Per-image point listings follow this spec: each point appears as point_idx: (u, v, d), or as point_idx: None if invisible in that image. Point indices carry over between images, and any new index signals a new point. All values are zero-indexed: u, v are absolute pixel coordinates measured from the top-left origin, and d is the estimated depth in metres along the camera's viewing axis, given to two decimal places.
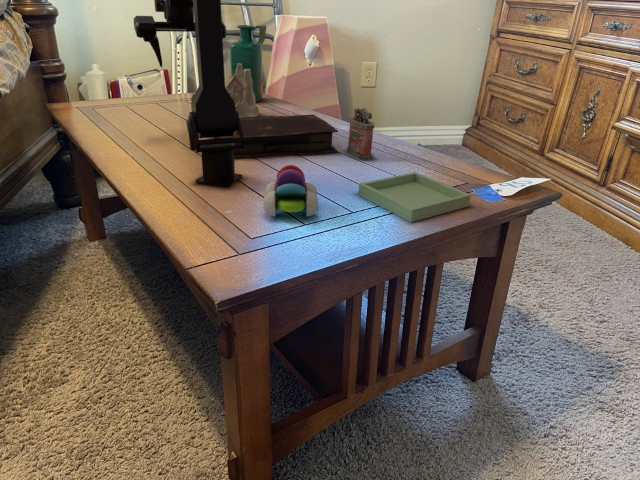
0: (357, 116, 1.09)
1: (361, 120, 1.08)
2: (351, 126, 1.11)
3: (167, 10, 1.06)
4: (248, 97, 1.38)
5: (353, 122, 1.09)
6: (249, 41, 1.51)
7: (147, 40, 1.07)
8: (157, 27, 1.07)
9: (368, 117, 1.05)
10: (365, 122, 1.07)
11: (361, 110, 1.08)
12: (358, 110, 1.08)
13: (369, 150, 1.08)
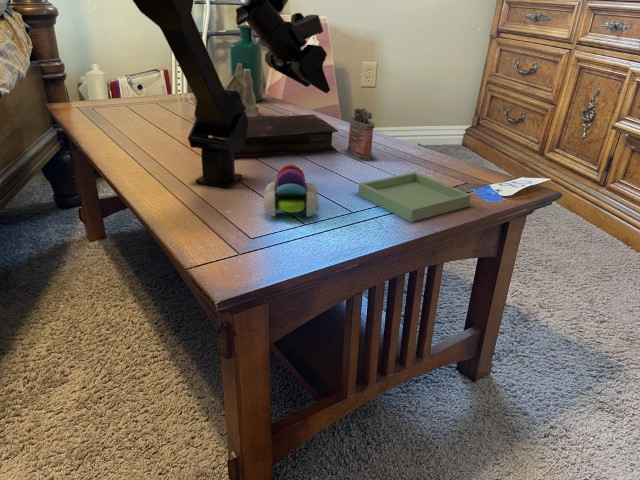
0: (357, 116, 1.09)
1: (361, 120, 1.08)
2: (351, 126, 1.11)
3: None
4: (248, 97, 1.38)
5: (353, 122, 1.09)
6: (249, 41, 1.51)
7: (275, 69, 1.08)
8: None
9: (368, 117, 1.05)
10: (365, 122, 1.07)
11: (361, 110, 1.08)
12: (358, 110, 1.08)
13: (369, 150, 1.08)
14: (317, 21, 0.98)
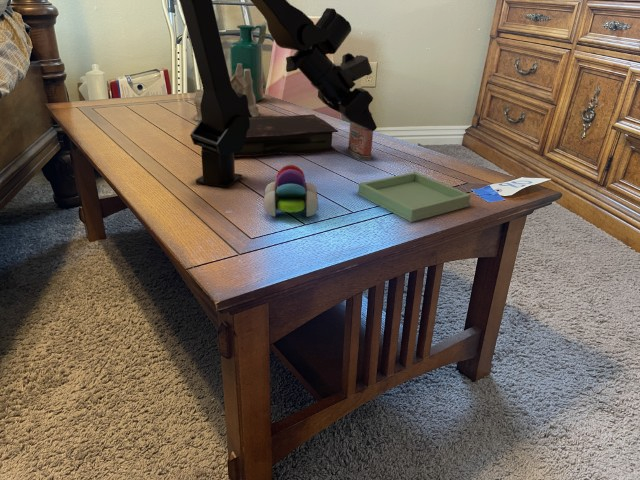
0: None
1: None
2: (351, 126, 1.11)
3: None
4: (248, 97, 1.38)
5: (353, 122, 1.09)
6: (249, 41, 1.51)
7: (327, 105, 1.12)
8: None
9: None
10: None
11: None
12: None
13: (369, 150, 1.08)
14: (366, 63, 1.01)
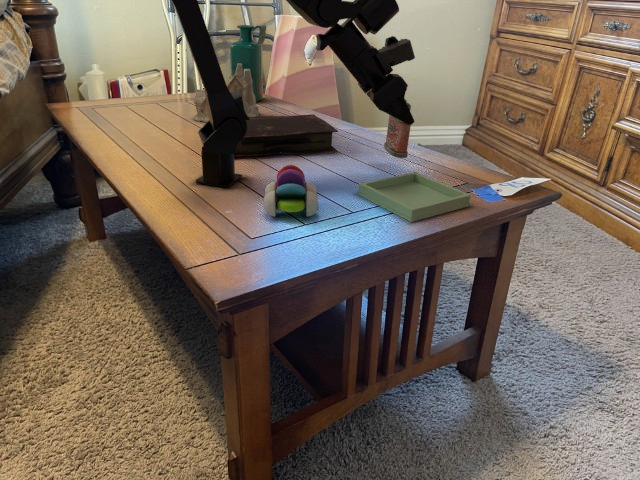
0: None
1: None
2: (389, 119, 0.99)
3: None
4: (248, 97, 1.38)
5: None
6: (249, 41, 1.51)
7: (367, 94, 1.01)
8: None
9: None
10: None
11: None
12: None
13: (404, 147, 0.96)
14: (407, 47, 0.89)
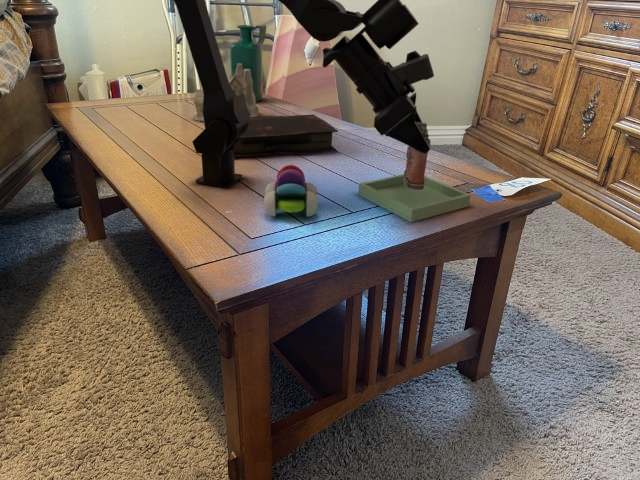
0: None
1: None
2: None
3: None
4: (248, 97, 1.38)
5: None
6: (249, 41, 1.51)
7: None
8: None
9: None
10: None
11: (419, 125, 0.83)
12: None
13: (419, 177, 0.83)
14: (424, 64, 0.77)
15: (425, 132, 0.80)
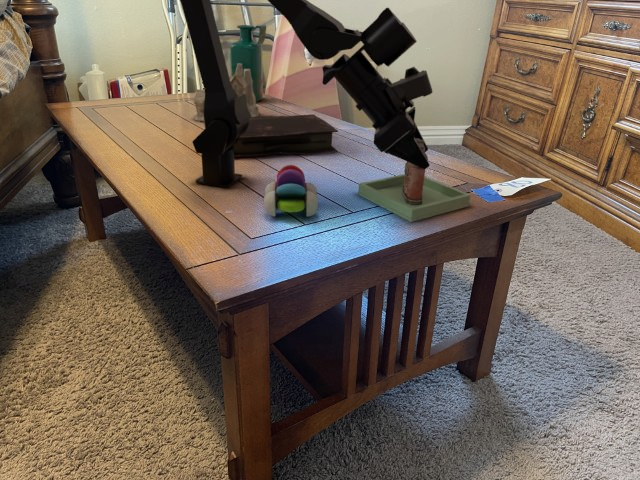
0: None
1: None
2: None
3: None
4: (248, 97, 1.38)
5: None
6: (249, 41, 1.51)
7: None
8: None
9: None
10: None
11: None
12: None
13: (417, 193, 0.84)
14: (422, 81, 0.78)
15: (422, 149, 0.82)
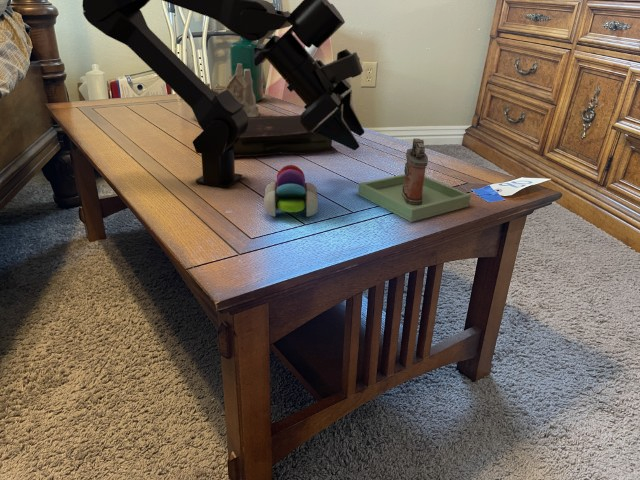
0: (412, 149, 0.86)
1: (414, 154, 0.85)
2: None
3: None
4: (248, 97, 1.38)
5: (406, 155, 0.86)
6: (249, 41, 1.51)
7: None
8: None
9: (419, 152, 0.82)
10: (417, 157, 0.84)
11: (416, 142, 0.84)
12: (413, 141, 0.85)
13: (417, 193, 0.84)
14: (350, 62, 0.79)
15: (422, 149, 0.82)
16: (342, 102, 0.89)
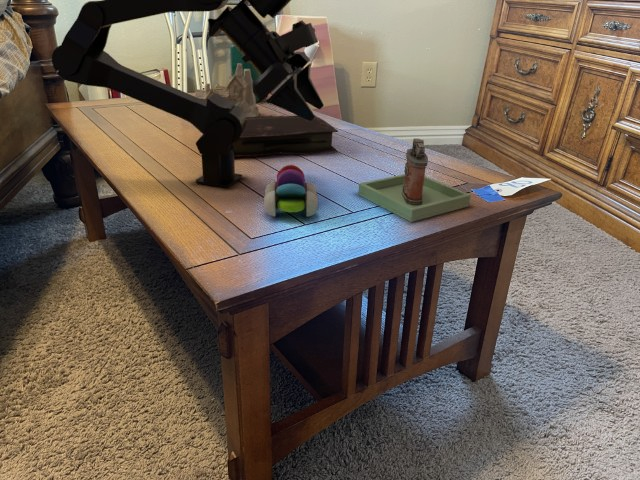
0: (412, 149, 0.86)
1: (414, 154, 0.85)
2: None
3: None
4: (248, 97, 1.38)
5: (406, 155, 0.86)
6: None
7: None
8: None
9: (419, 152, 0.82)
10: (417, 157, 0.84)
11: (416, 142, 0.84)
12: (413, 141, 0.85)
13: (417, 193, 0.84)
14: (303, 32, 0.79)
15: (422, 149, 0.82)
16: (300, 75, 0.89)
